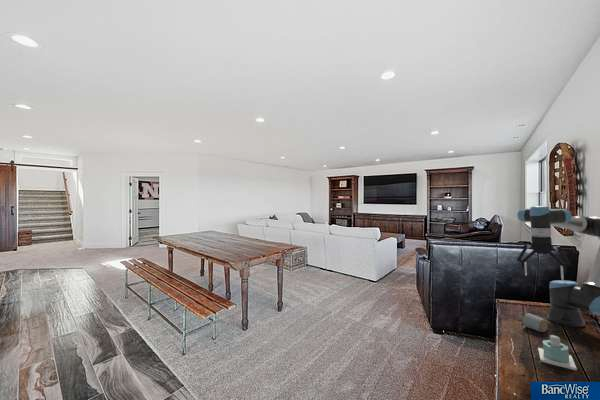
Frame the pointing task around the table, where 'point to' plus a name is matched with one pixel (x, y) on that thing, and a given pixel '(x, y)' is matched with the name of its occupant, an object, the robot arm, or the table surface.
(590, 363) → the table surface
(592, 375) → the table surface
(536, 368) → the table surface
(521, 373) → the table surface
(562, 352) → the ring
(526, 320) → the ceramic mug
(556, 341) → the plate with round peg
